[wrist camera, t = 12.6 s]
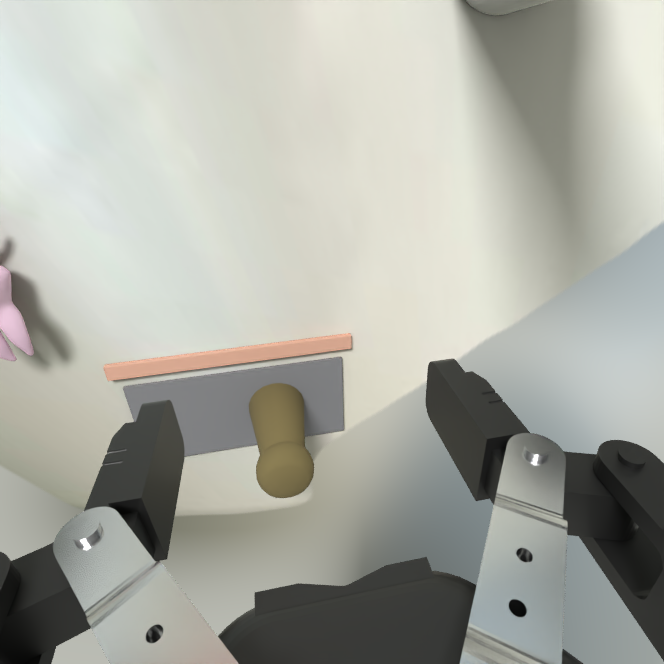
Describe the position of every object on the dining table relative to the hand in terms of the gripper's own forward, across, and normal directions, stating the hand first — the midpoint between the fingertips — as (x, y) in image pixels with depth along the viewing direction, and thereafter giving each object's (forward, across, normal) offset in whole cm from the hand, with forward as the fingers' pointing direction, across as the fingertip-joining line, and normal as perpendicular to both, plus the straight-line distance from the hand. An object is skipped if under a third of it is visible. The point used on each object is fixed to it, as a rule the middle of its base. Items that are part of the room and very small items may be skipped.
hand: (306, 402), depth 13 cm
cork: (+26, +2, +21) cm, 34 cm away
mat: (+27, +5, +21) cm, 34 cm away
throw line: (+27, +5, +14) cm, 31 cm away
